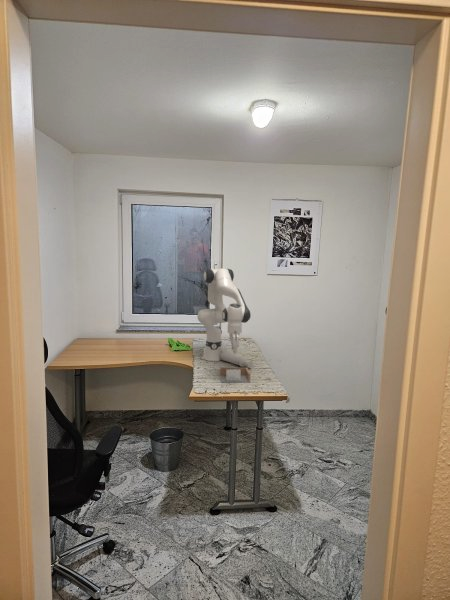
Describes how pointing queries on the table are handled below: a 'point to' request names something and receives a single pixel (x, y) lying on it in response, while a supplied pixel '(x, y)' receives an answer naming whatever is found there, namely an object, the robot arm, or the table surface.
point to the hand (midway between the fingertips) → (233, 351)
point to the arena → (244, 375)
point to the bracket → (233, 374)
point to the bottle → (235, 358)
